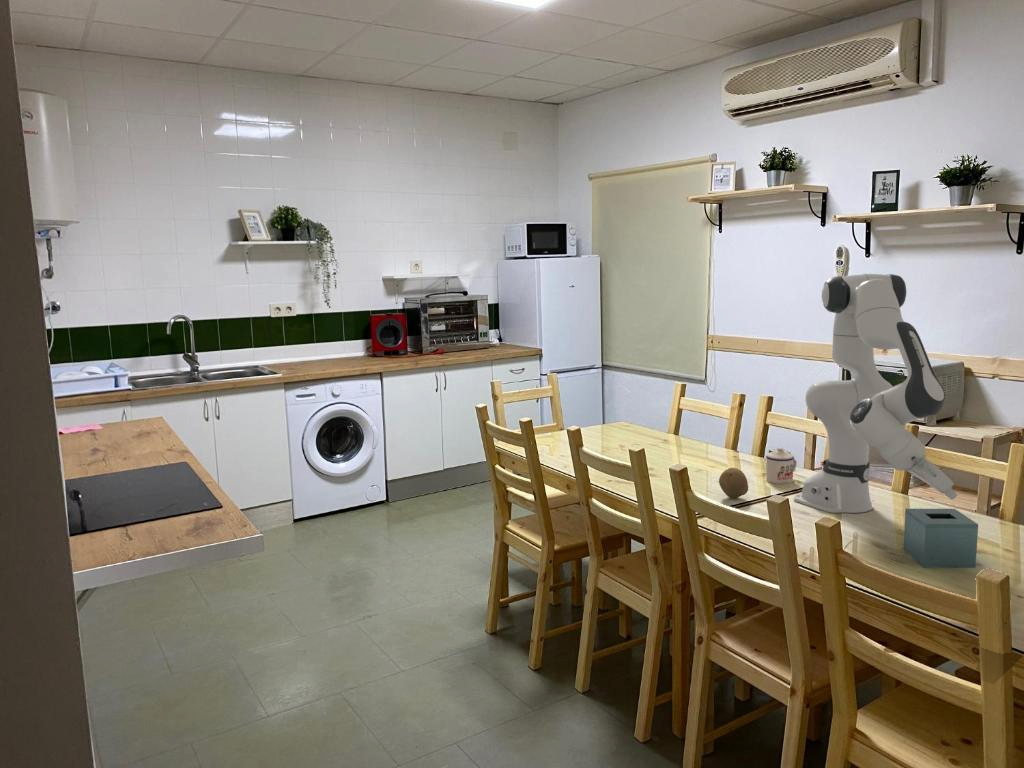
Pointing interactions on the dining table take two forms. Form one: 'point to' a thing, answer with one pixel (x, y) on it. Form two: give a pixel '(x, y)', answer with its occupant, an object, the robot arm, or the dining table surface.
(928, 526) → the blue-gray slotted box
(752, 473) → the dining table surface
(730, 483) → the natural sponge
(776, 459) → the teacup with lid
